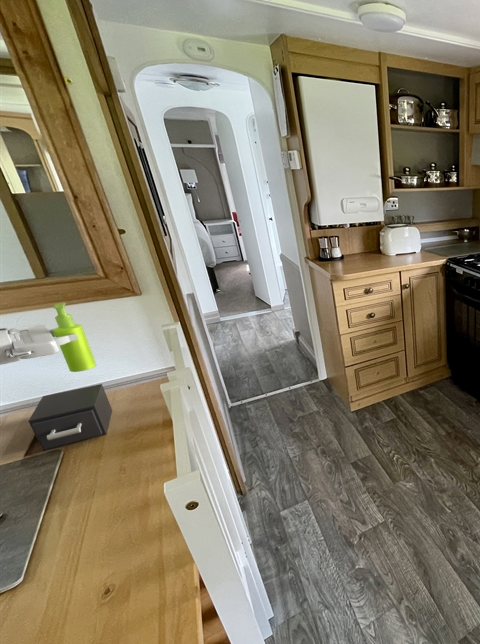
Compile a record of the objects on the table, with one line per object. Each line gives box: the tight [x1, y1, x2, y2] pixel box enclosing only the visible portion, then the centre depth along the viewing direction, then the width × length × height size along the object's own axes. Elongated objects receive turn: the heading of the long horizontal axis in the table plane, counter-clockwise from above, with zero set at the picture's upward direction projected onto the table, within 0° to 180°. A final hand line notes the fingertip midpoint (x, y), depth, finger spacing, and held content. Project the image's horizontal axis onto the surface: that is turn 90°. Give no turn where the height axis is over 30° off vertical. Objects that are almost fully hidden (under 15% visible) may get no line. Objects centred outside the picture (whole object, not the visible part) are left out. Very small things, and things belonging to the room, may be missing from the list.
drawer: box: [31, 409, 103, 451], centre depth 104 cm, size 18×11×8 cm, turn 36°
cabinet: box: [28, 383, 113, 452], centre depth 107 cm, size 15×13×10 cm
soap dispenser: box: [53, 302, 97, 373], centre depth 112 cm, size 6×7×20 cm
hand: (74, 333), depth 112 cm, fingers closed on soap dispenser, 6 cm apart
